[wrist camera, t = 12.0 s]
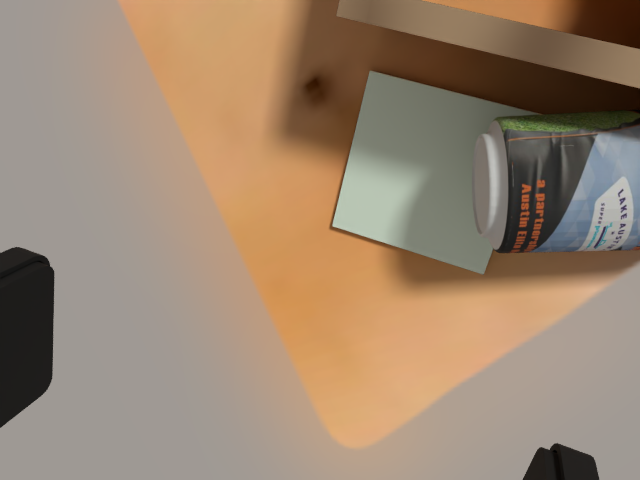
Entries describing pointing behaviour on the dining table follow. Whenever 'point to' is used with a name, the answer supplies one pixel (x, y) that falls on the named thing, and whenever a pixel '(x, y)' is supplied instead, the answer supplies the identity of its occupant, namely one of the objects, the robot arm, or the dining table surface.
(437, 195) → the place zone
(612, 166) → the beverage can
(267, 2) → the dining table surface
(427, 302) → the dining table surface
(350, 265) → the dining table surface
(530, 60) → the box
